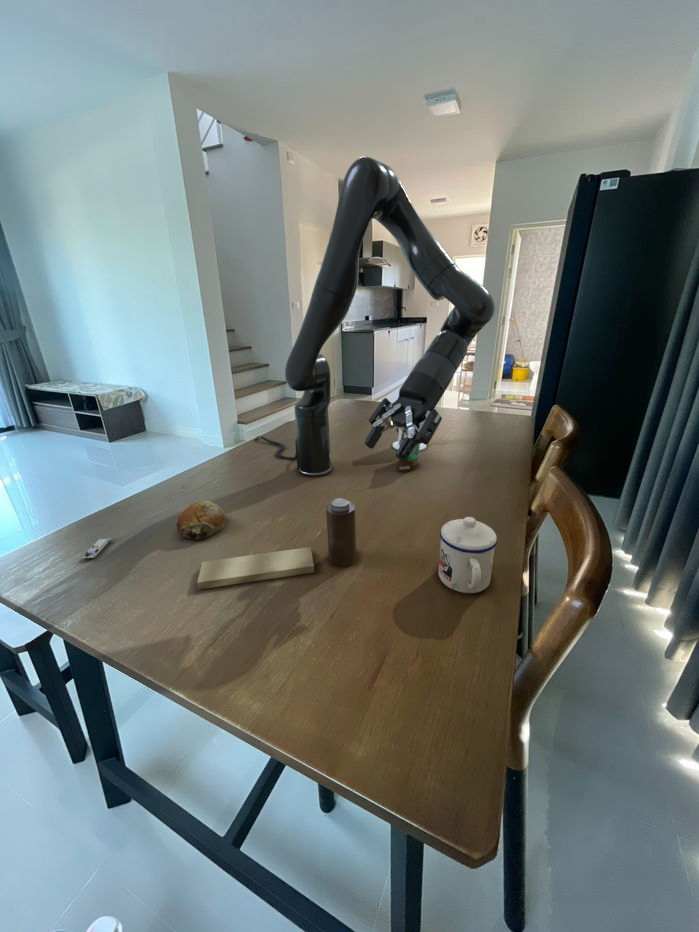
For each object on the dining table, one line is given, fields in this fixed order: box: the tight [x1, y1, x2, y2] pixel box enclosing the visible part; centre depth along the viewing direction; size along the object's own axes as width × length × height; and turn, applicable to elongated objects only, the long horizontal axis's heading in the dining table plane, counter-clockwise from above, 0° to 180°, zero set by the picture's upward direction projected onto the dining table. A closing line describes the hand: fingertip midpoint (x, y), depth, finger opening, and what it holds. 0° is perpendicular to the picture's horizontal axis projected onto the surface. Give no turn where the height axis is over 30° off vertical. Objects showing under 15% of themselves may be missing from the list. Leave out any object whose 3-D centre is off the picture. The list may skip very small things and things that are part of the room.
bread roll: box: [176, 500, 226, 541], centre depth 83 cm, size 10×10×8 cm
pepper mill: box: [325, 497, 357, 568], centre depth 70 cm, size 5×5×12 cm
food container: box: [398, 428, 421, 473], centre depth 112 cm, size 12×6×10 cm, turn 168°
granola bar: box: [81, 537, 112, 559], centre depth 77 cm, size 7×2×1 cm, turn 3°
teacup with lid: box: [438, 516, 498, 594], centre depth 63 cm, size 12×9×12 cm
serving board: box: [196, 546, 315, 590], centre depth 70 cm, size 20×6×2 cm, turn 101°
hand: (383, 452), depth 71 cm, fingers open, 8 cm apart
